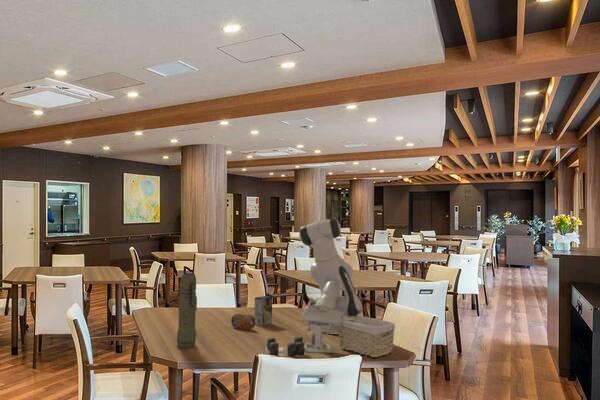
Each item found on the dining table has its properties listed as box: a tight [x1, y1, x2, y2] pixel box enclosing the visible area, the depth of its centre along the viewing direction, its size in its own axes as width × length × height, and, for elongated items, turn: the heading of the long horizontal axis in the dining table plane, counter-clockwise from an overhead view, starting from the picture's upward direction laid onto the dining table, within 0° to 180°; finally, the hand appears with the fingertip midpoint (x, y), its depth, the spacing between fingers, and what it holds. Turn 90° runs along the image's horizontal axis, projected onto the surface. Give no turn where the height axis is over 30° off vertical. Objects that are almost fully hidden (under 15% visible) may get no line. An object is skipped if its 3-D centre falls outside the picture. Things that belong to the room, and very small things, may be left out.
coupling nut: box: [311, 324, 324, 350], centre depth 223 cm, size 5×4×12 cm
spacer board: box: [265, 336, 308, 357], centre depth 217 cm, size 18×16×6 cm
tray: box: [304, 342, 333, 354], centre depth 224 cm, size 12×12×2 cm
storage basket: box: [338, 315, 396, 356], centre depth 225 cm, size 24×16×15 cm
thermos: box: [176, 272, 198, 349], centre depth 228 cm, size 9×12×35 cm
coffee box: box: [254, 295, 273, 327], centre depth 280 cm, size 9×6×16 cm
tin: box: [231, 313, 256, 331], centre depth 267 cm, size 15×3×8 cm, turn 62°
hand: (317, 331), depth 223 cm, fingers open, 8 cm apart
